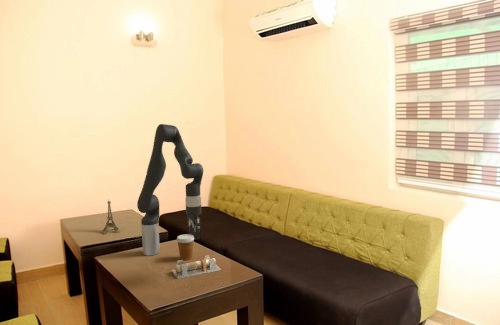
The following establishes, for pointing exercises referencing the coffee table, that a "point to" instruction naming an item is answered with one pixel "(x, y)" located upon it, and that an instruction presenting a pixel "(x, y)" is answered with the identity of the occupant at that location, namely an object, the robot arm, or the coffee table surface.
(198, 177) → the robot arm
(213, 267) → the white peg stand
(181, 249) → the disposable coffee cup
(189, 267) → the dowel
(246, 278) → the coffee table surface
